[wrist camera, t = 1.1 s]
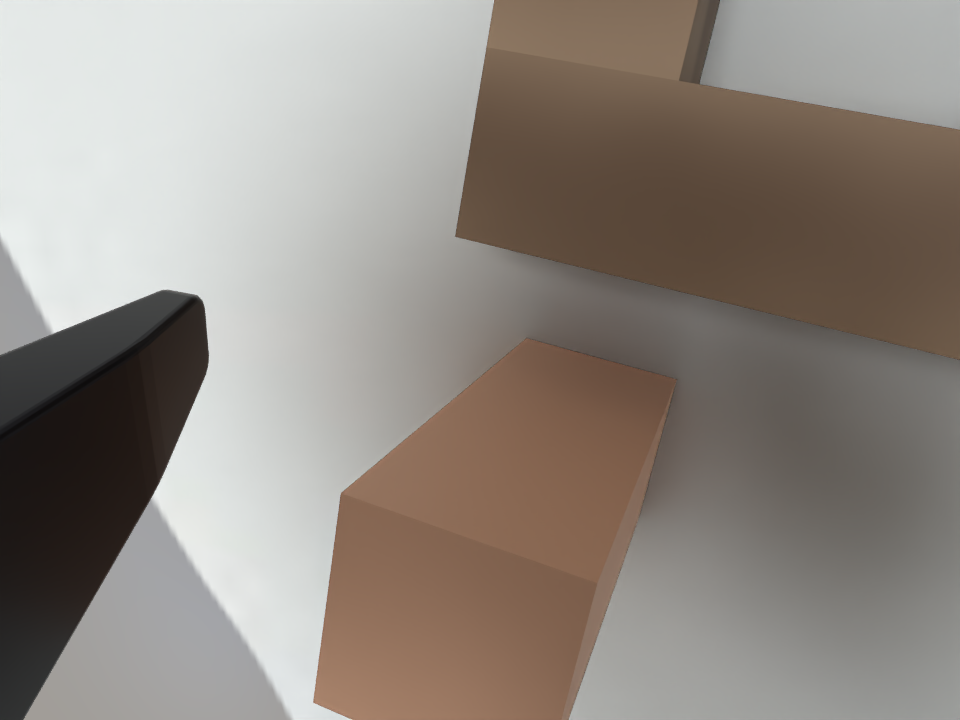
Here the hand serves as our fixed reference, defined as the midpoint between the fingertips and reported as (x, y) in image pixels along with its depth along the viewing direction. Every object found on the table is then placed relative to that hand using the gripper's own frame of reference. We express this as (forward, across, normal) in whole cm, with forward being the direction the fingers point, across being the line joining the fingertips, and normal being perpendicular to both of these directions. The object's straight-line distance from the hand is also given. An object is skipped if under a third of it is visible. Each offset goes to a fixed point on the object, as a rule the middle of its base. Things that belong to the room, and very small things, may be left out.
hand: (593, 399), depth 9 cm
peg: (+9, -1, +8) cm, 12 cm away
